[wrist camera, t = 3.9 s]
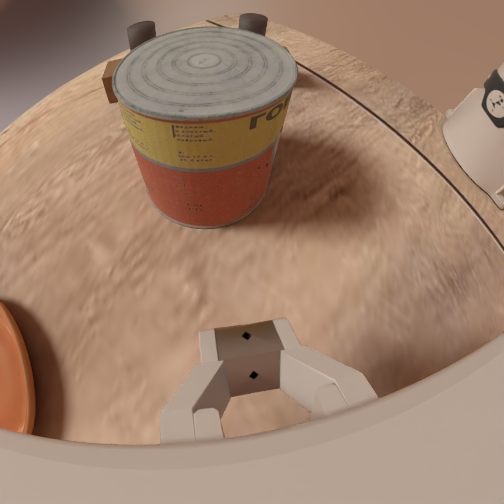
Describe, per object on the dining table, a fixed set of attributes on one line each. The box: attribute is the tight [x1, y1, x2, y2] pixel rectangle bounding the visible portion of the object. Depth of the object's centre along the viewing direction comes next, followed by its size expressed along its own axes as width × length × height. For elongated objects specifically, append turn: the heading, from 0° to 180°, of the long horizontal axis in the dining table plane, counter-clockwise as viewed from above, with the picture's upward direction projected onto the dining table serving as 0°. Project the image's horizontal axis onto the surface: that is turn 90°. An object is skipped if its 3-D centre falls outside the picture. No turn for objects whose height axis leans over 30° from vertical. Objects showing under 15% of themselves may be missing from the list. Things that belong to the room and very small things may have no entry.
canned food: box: [112, 26, 298, 229], centre depth 20 cm, size 11×11×12 cm
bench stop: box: [102, 13, 289, 103], centre depth 26 cm, size 22×4×9 cm, turn 100°
